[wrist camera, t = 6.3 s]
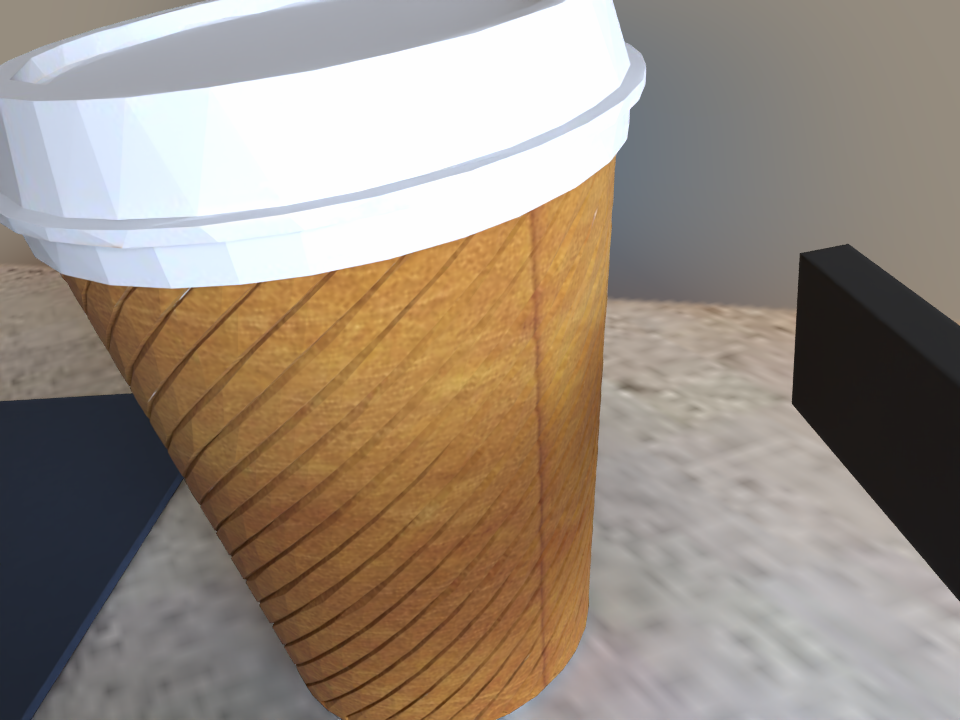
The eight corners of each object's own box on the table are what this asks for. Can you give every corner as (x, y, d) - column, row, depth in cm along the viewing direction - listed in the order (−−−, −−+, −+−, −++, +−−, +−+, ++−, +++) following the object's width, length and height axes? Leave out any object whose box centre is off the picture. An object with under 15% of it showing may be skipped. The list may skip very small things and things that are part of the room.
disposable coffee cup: (212, 533, 22) (12, 32, 15) (568, 429, 23) (513, -62, 17) (222, 915, 13) (-189, 185, 7) (765, 714, 15) (796, -21, 9)
